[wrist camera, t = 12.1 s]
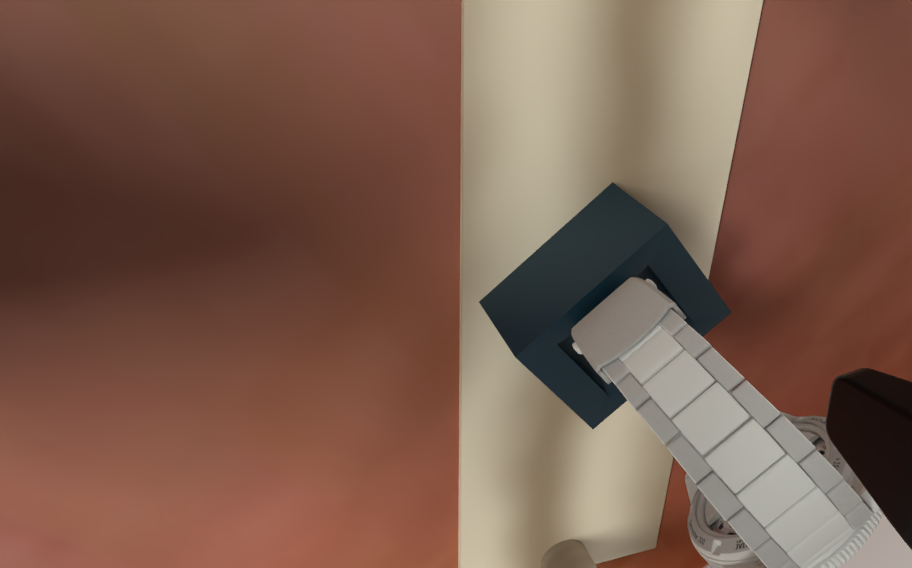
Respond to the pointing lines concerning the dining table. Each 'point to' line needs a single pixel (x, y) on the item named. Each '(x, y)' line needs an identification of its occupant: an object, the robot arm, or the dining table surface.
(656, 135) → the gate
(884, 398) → the robot arm
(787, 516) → the watch
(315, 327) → the dining table surface
